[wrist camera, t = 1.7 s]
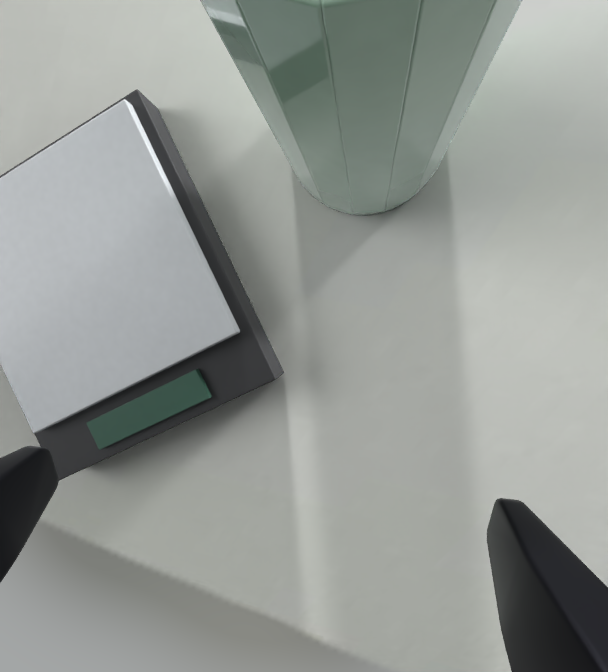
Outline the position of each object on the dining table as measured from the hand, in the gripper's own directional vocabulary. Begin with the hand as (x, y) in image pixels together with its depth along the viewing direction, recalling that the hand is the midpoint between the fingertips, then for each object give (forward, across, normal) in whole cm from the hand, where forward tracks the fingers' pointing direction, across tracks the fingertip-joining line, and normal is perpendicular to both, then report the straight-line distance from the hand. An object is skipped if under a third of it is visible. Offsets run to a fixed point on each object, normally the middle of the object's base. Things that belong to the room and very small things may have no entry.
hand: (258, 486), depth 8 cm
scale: (+12, +10, +1) cm, 16 cm away
